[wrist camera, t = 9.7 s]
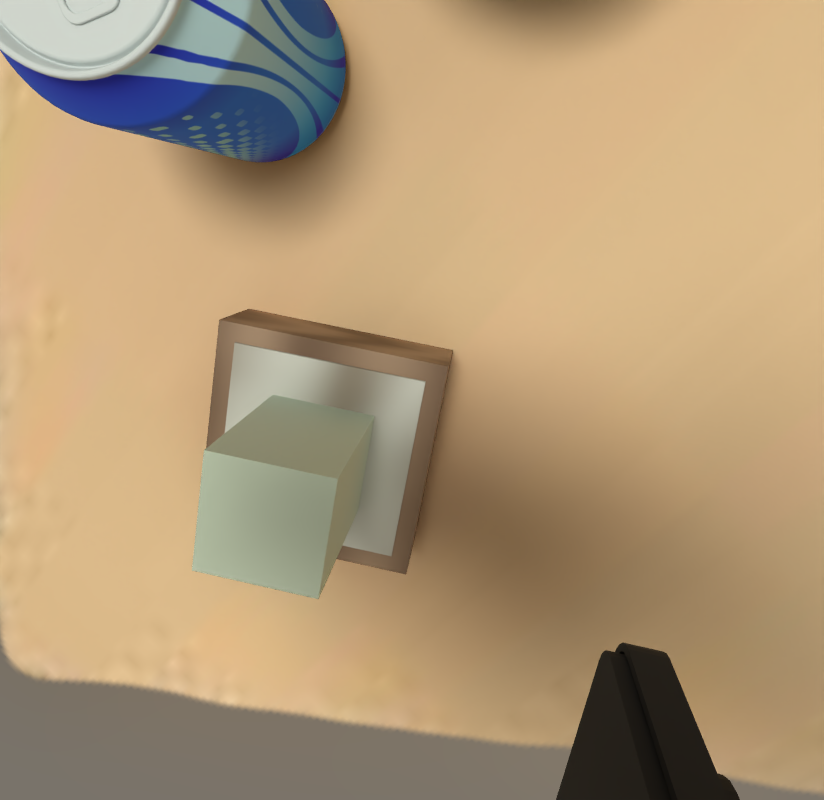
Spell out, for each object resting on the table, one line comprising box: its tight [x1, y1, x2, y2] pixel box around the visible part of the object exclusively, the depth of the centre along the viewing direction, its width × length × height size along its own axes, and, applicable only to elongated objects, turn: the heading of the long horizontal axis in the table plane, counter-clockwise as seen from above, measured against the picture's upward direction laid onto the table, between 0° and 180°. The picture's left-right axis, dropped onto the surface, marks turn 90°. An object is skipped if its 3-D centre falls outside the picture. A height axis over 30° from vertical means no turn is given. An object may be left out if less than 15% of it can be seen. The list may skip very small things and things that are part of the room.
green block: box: [192, 395, 375, 599], centre depth 28 cm, size 5×5×8 cm
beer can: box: [0, 0, 346, 162], centre depth 24 cm, size 8×8×16 cm
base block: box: [206, 309, 453, 574], centre depth 34 cm, size 11×11×4 cm
